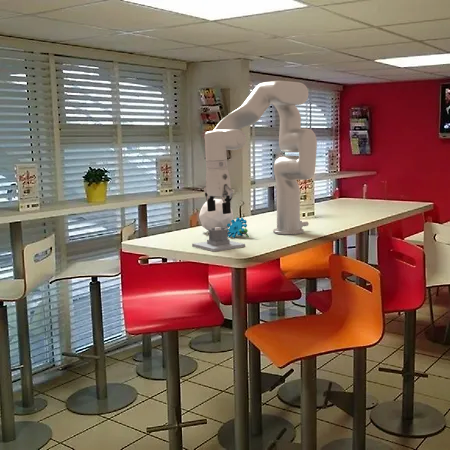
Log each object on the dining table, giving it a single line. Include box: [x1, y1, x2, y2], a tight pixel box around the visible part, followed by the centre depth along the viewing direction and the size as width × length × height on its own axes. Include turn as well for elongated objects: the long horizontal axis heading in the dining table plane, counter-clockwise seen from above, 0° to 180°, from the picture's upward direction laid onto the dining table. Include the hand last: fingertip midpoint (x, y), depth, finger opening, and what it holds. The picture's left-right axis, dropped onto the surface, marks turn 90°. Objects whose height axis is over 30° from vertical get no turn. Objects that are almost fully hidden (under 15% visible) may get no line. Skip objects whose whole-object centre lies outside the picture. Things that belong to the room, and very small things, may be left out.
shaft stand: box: [191, 227, 246, 252], centre depth 217 cm, size 14×14×7 cm
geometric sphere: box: [198, 198, 234, 232], centre depth 251 cm, size 14×15×15 cm
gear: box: [227, 217, 250, 239], centre depth 239 cm, size 11×6×10 cm
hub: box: [208, 228, 229, 241], centre depth 217 cm, size 7×7×4 cm
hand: (219, 212), depth 216 cm, fingers open, 9 cm apart
